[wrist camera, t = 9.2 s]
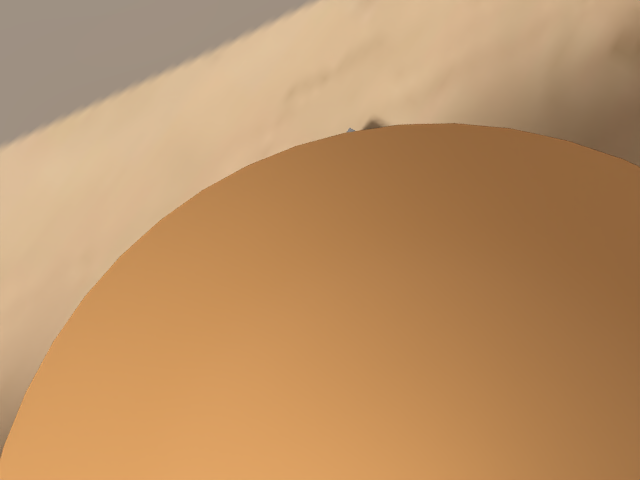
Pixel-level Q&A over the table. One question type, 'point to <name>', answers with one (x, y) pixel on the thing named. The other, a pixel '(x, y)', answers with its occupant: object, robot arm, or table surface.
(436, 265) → the peach capped bottle
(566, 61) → the table surface
